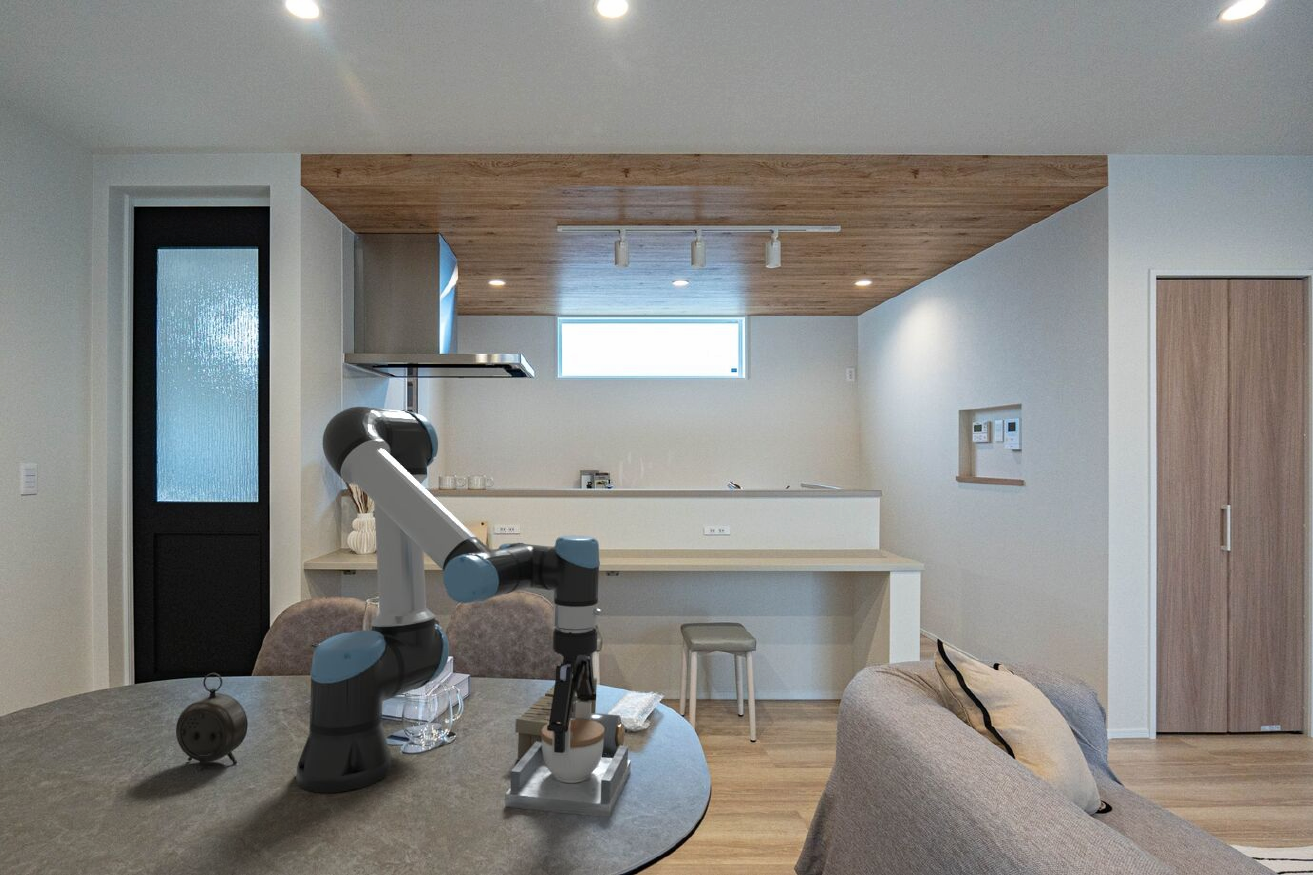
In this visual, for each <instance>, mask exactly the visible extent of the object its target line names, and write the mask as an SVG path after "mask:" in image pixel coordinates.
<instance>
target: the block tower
mask: <svg viewBox="0 0 1313 875" xmlns="http://www.w3.org/2000/svg"><path fill="white" fill-rule="evenodd" d="M564 681H565V680H564ZM597 682H598V678H597V677H594V685H595V692H594V693H592V694H596V695H597V686H598V685H597V684H598V683H597ZM554 687H555V683H554V685H552V686H551V688H549V689H548V690H547V691H546V692H545V693H544V695H541V696H540V697H539V698H538V700H536V701H535V702H534V703H532V705H531V706H530V707H529V708H528V709H527V710H526V711H525V712H524V713H523V714H521V716H518V717H517V718H516V719H515V729H514V732H515V733H516V734H518V736H517V737H518V740H517V741H518V742H517V760H521V759H522V757H523V756H524V755H525V754H526V753H527V752H528V750H529V749H530V748H531V747H532V746H533V744H534V743H535V742H536V741H537V740H538V739H539V738H541V739H542V737H541V731H542V728H543V727H544V726H545V725H547V724H548V723H549V720H550V713H551V707H552V700H553V694H554ZM577 700H578V701H580V699H578V697H577V693H575V697H574V702H573V707H572V712H576V701H577ZM590 702H592V703H591V713H596V711H597V710H596V709H597V708H596V706H597V699H596V700H590ZM572 712H571V713H572Z"/></svg>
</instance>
